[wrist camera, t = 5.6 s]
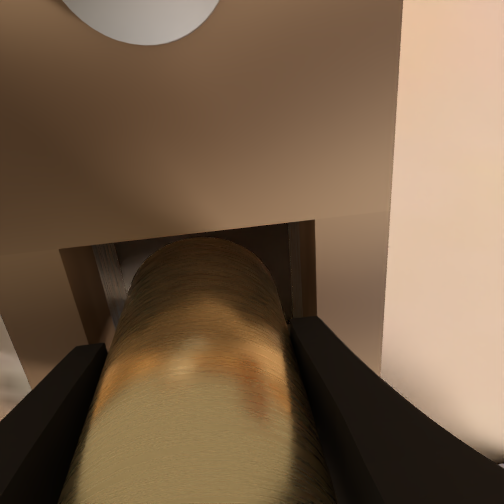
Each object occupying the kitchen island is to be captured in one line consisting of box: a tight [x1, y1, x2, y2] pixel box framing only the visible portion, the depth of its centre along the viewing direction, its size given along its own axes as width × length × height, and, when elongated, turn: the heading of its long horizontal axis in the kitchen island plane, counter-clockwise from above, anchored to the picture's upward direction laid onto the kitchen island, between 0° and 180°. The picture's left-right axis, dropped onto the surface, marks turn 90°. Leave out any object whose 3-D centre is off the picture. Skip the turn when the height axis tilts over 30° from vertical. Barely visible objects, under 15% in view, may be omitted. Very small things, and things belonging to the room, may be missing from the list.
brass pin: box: [58, 237, 338, 504], centre depth 8 cm, size 4×4×7 cm
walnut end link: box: [0, 0, 403, 390], centre depth 10 cm, size 16×9×5 cm, turn 5°
